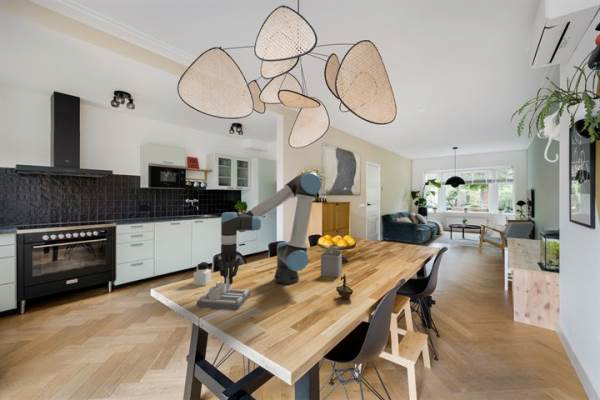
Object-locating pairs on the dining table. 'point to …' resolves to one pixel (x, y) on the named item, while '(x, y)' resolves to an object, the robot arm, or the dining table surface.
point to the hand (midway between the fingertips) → (228, 290)
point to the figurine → (344, 289)
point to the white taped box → (222, 285)
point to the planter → (331, 262)
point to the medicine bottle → (202, 274)
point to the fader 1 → (215, 293)
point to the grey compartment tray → (225, 300)
